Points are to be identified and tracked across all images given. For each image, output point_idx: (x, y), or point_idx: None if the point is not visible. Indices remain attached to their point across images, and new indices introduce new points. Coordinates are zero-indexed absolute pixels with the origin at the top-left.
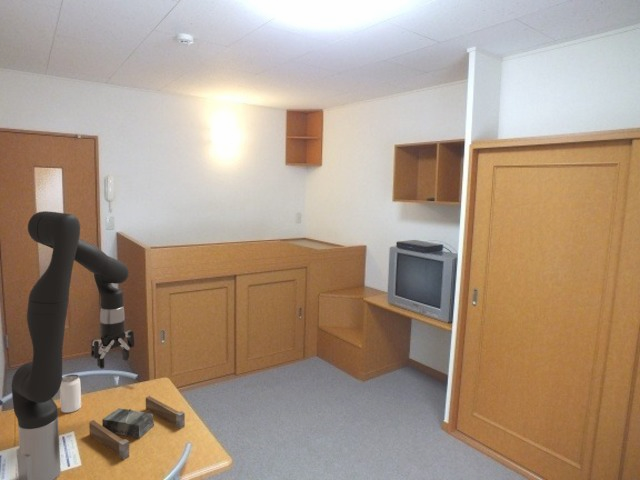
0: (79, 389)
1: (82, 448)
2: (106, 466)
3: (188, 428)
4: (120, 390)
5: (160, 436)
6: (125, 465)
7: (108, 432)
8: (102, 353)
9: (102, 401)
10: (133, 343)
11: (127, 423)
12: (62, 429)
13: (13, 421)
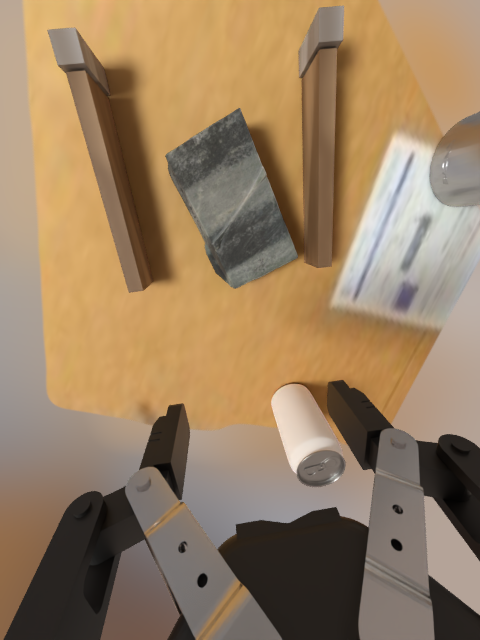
0: (291, 424)
1: (355, 211)
2: (363, 60)
3: None
4: None
5: (177, 82)
6: None
7: (326, 157)
8: (417, 470)
9: (227, 389)
10: (62, 535)
11: (260, 161)
12: (342, 328)
13: None
